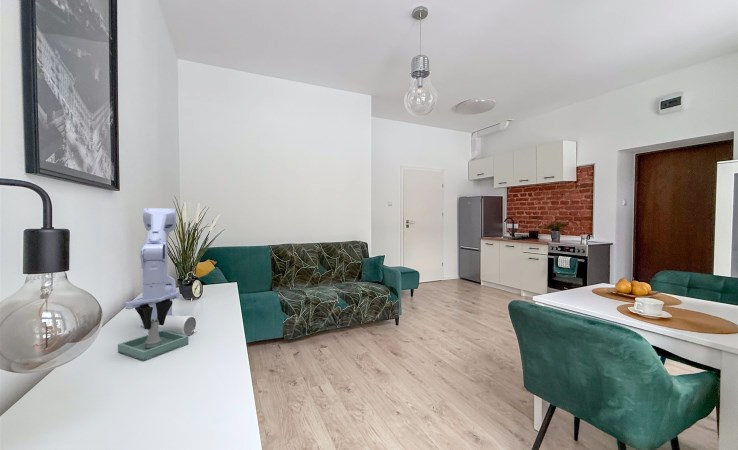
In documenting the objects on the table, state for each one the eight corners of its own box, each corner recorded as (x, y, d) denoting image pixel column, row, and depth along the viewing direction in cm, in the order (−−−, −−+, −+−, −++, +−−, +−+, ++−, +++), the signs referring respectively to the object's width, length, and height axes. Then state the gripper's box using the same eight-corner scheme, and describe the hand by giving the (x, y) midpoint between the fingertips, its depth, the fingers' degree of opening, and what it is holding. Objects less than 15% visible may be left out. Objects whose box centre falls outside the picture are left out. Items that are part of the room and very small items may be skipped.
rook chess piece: (152, 349, 90) (152, 323, 90) (140, 348, 91) (140, 321, 91) (165, 344, 95) (165, 318, 95) (153, 342, 96) (154, 317, 96)
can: (183, 319, 101) (150, 318, 102) (183, 338, 101) (150, 337, 102) (196, 313, 107) (165, 313, 108) (196, 331, 107) (165, 330, 108)
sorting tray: (117, 352, 90) (117, 344, 90) (163, 337, 102) (163, 330, 102) (143, 361, 84) (143, 352, 84) (188, 344, 96) (188, 336, 96)
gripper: (135, 288, 85) (135, 336, 85) (185, 279, 98) (185, 321, 98) (121, 286, 87) (121, 332, 88) (171, 277, 101) (171, 318, 101)
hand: (154, 326), depth 93 cm, fingers open, 3 cm apart
